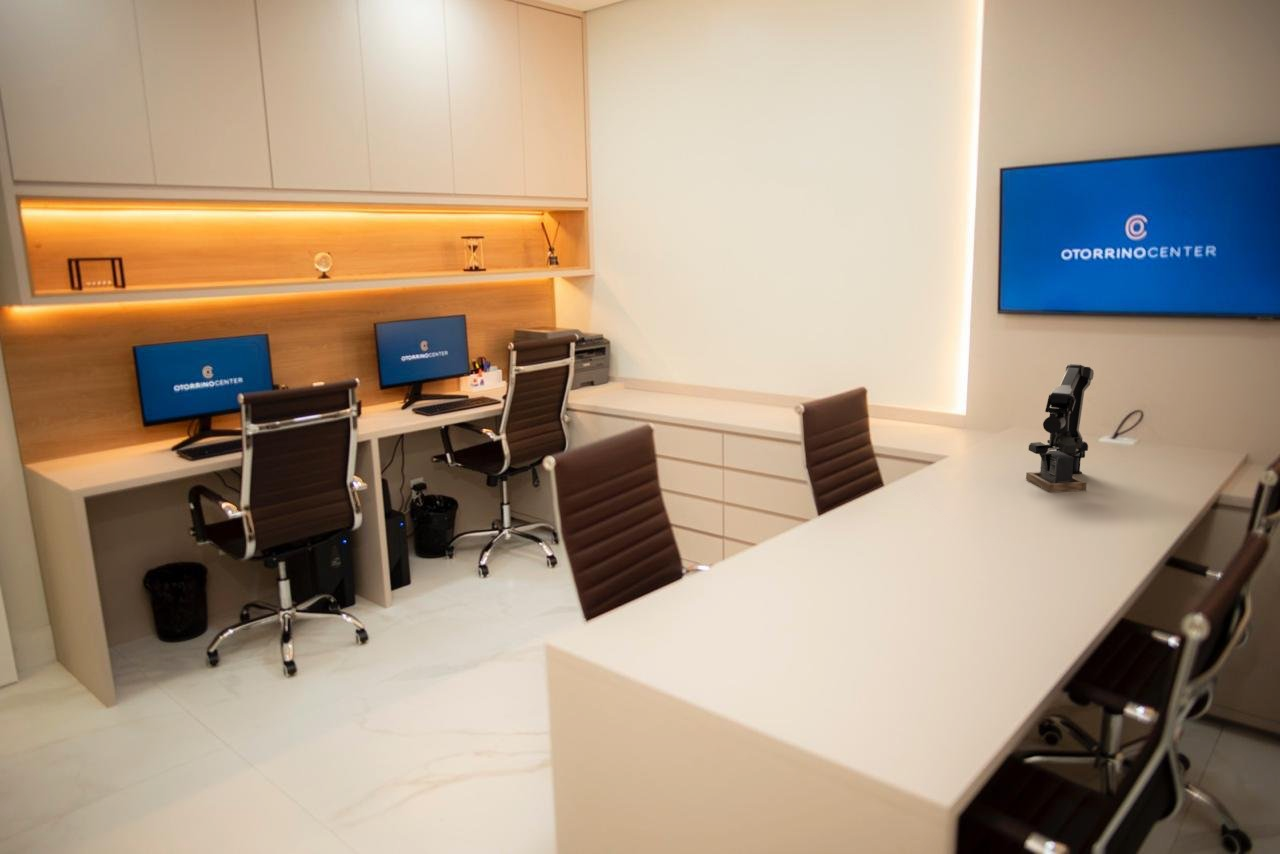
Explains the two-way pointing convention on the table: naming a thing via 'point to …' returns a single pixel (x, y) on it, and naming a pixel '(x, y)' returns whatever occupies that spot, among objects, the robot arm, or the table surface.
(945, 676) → the table surface
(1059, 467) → the small box
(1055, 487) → the walnut holder
